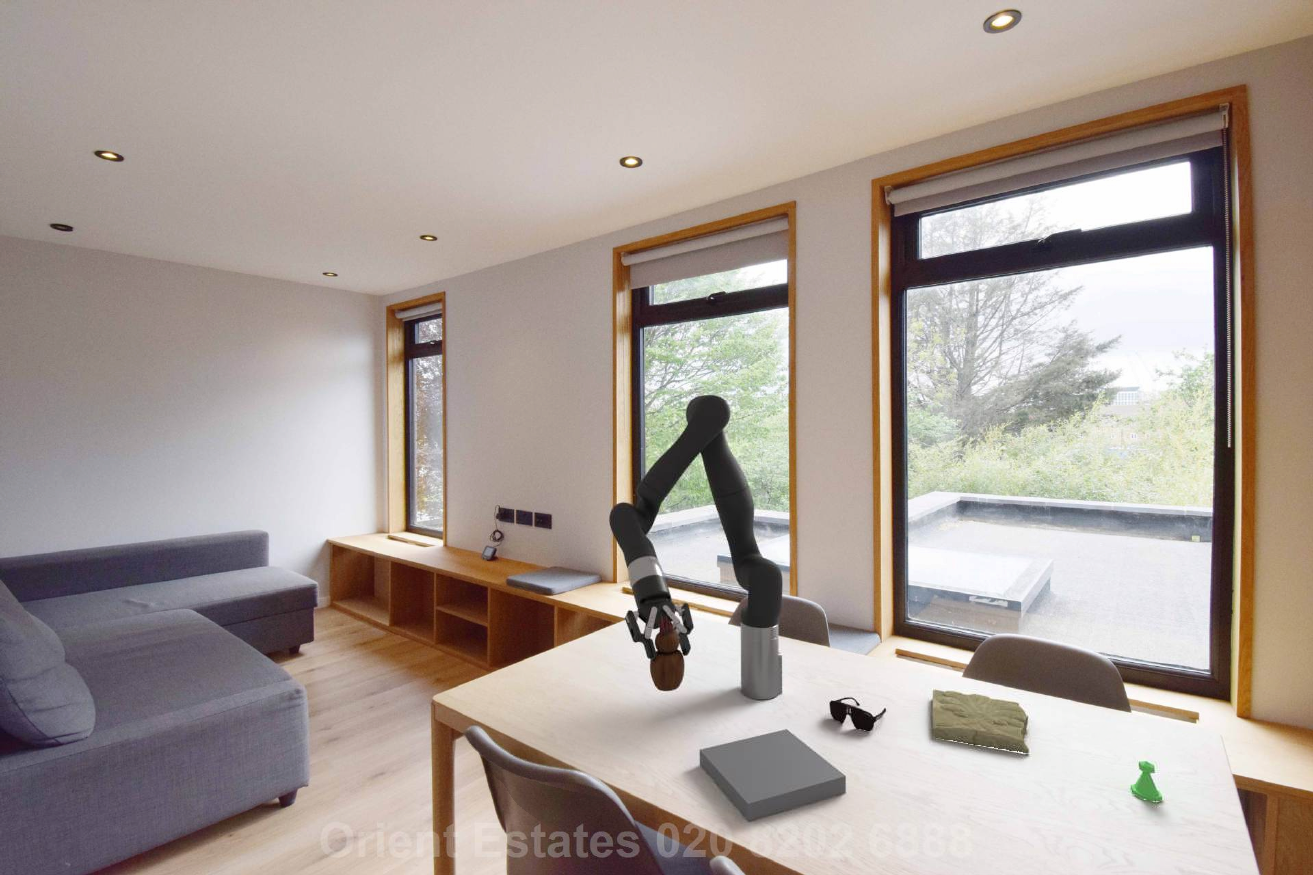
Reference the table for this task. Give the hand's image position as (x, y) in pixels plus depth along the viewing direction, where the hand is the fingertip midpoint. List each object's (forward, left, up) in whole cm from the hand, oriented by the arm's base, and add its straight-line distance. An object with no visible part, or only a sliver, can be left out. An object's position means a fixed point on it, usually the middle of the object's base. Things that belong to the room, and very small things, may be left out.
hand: (670, 656), depth 116 cm
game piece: (-72, +43, -20) cm, 87 cm away
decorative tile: (-67, +14, -21) cm, 72 cm away
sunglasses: (-45, +2, -21) cm, 50 cm away
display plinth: (-14, +13, -20) cm, 28 cm away
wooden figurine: (0, -2, -7) cm, 7 cm away
